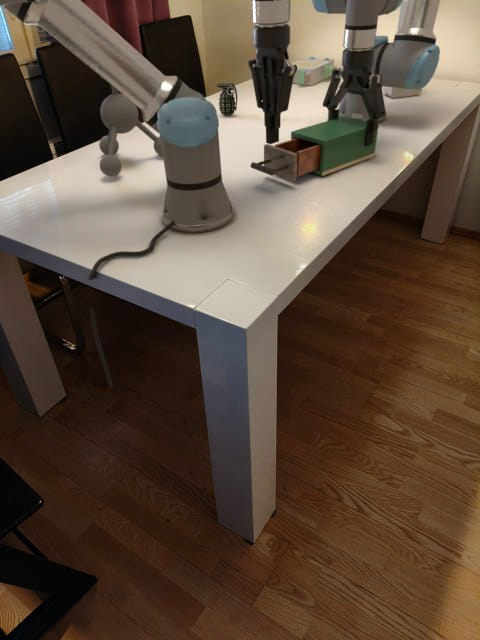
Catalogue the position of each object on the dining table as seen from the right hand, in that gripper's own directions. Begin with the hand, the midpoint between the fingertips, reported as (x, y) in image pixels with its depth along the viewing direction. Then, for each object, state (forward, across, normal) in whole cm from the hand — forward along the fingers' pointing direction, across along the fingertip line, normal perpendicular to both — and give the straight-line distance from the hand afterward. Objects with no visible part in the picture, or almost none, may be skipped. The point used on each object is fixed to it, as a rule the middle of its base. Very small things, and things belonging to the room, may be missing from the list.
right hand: (350, 140), depth 131 cm
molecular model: (+4, +40, +43) cm, 59 cm away
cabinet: (+4, 0, +7) cm, 8 cm away
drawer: (+3, 0, +20) cm, 20 cm away
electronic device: (+4, +26, -62) cm, 67 cm away
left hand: (-6, 0, +29) cm, 29 cm away
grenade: (+4, +56, -3) cm, 56 cm away
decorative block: (+4, +72, -59) cm, 93 cm away
